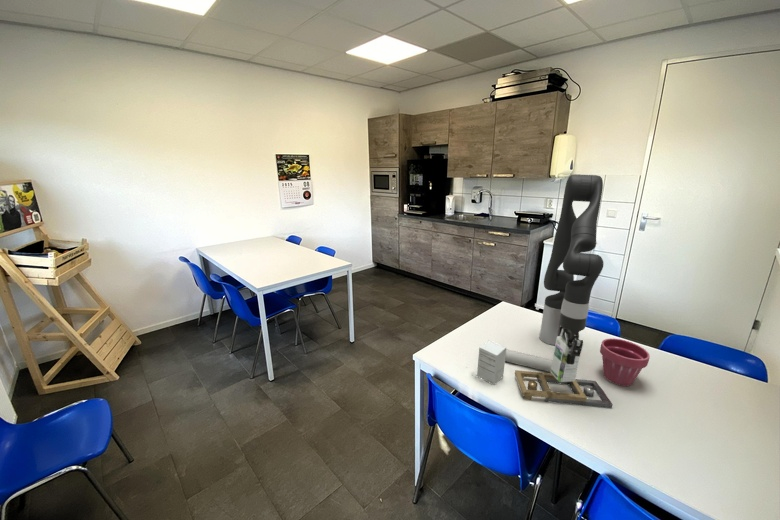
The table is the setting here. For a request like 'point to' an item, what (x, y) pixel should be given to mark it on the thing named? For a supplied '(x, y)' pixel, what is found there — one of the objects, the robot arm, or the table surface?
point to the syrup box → (563, 362)
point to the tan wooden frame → (546, 387)
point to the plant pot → (622, 361)
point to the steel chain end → (588, 391)
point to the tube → (528, 360)
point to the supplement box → (491, 362)
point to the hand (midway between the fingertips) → (565, 357)
